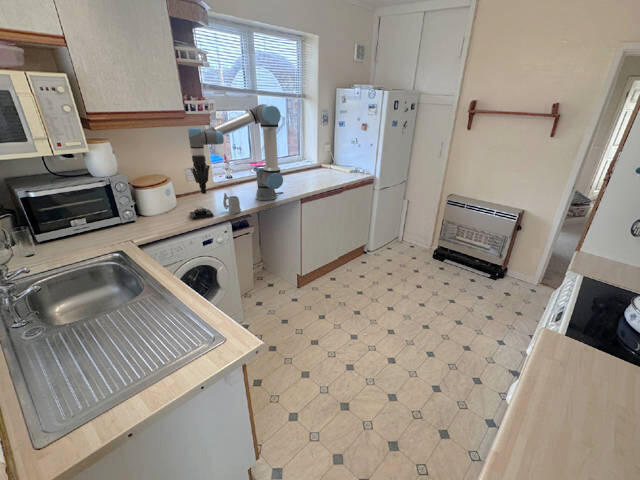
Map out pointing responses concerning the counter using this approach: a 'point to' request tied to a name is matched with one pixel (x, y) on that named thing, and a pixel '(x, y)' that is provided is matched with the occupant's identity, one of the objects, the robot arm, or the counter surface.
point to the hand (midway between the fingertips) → (203, 193)
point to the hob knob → (200, 208)
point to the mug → (232, 203)
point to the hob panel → (201, 214)
